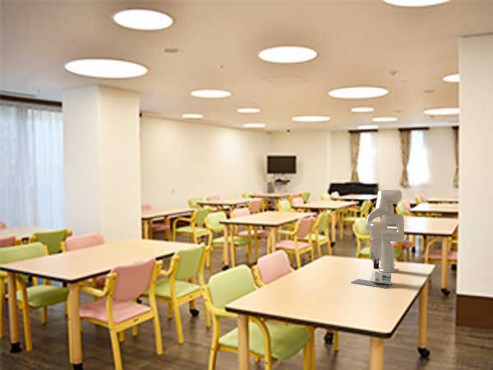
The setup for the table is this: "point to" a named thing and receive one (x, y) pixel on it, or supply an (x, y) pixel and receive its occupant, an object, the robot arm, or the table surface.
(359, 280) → the mat
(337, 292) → the table surface
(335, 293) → the table surface
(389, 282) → the light bulb box
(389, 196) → the robot arm
